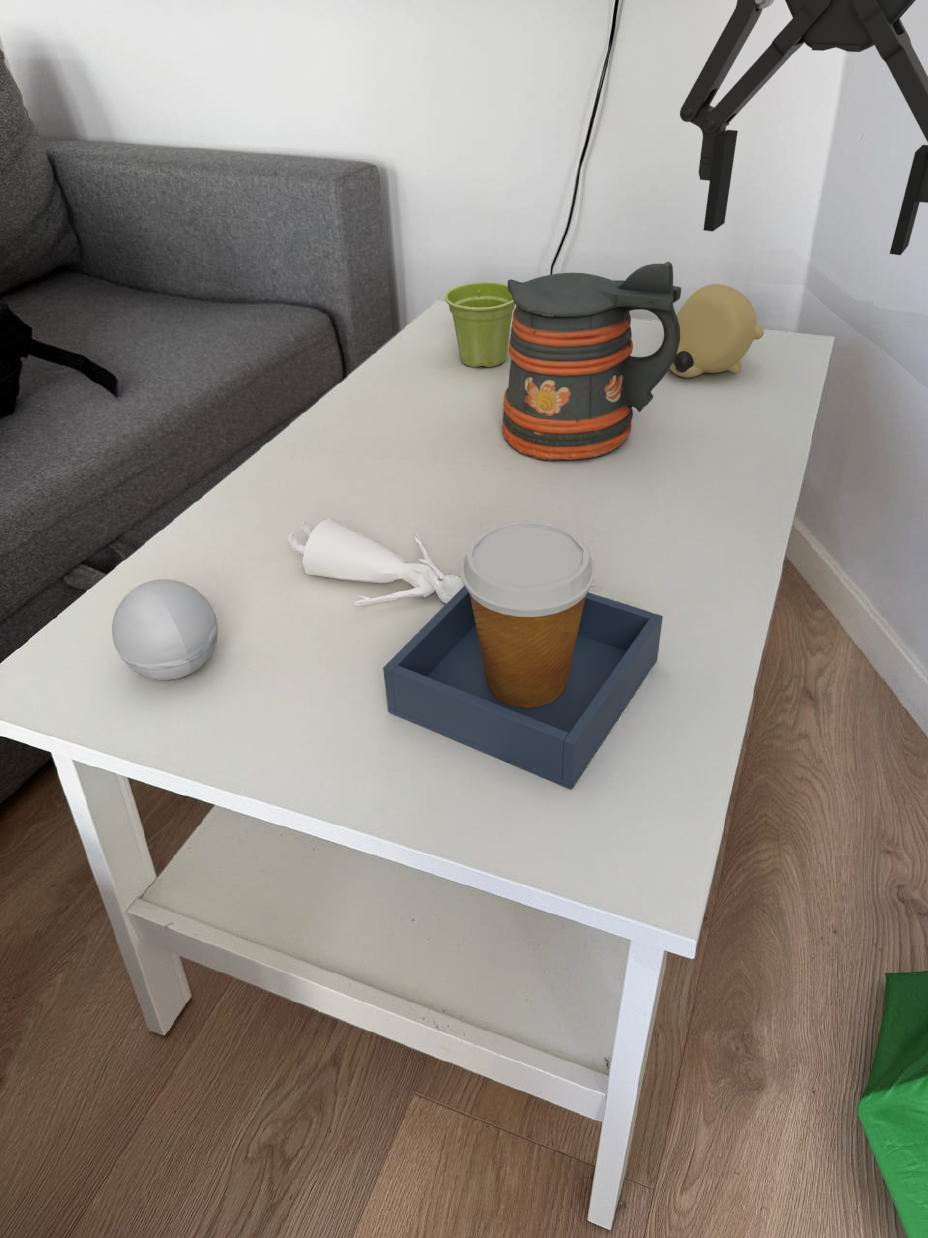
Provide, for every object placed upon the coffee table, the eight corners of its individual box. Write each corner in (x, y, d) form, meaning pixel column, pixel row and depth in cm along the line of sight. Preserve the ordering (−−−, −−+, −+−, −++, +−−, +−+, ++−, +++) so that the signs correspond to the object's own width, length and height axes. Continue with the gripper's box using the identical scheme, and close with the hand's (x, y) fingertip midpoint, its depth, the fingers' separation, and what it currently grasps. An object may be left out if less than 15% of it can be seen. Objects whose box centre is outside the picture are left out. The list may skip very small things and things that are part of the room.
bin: (657, 660, 74) (663, 615, 71) (571, 790, 63) (574, 744, 61) (489, 603, 80) (489, 560, 77) (387, 712, 70) (382, 667, 67)
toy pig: (690, 380, 122) (636, 331, 118) (760, 310, 117) (705, 256, 113) (711, 411, 114) (653, 359, 110) (786, 337, 109) (729, 280, 105)
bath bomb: (244, 645, 77) (225, 567, 72) (194, 709, 71) (170, 630, 66) (161, 629, 79) (137, 552, 74) (107, 690, 73) (77, 612, 68)
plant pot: (481, 380, 116) (479, 313, 111) (433, 360, 122) (429, 294, 116) (533, 359, 121) (534, 293, 116) (485, 340, 127) (483, 276, 121)
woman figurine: (328, 487, 88) (500, 538, 82) (331, 525, 91) (497, 577, 85) (257, 551, 80) (442, 612, 74) (263, 591, 82) (442, 652, 77)
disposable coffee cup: (584, 729, 67) (593, 599, 60) (456, 718, 68) (449, 590, 61) (590, 645, 74) (599, 520, 67) (475, 637, 76) (470, 513, 68)
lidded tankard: (678, 416, 107) (701, 238, 94) (656, 477, 96) (678, 286, 83) (522, 397, 112) (523, 226, 99) (485, 453, 101) (481, 270, 89)
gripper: (1116, -140, 52) (993, 246, 65) (697, -122, 63) (663, 207, 76) (1109, -145, 47) (978, 275, 60) (655, -124, 58) (626, 229, 71)
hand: (802, 238), depth 68 cm, fingers open, 13 cm apart
